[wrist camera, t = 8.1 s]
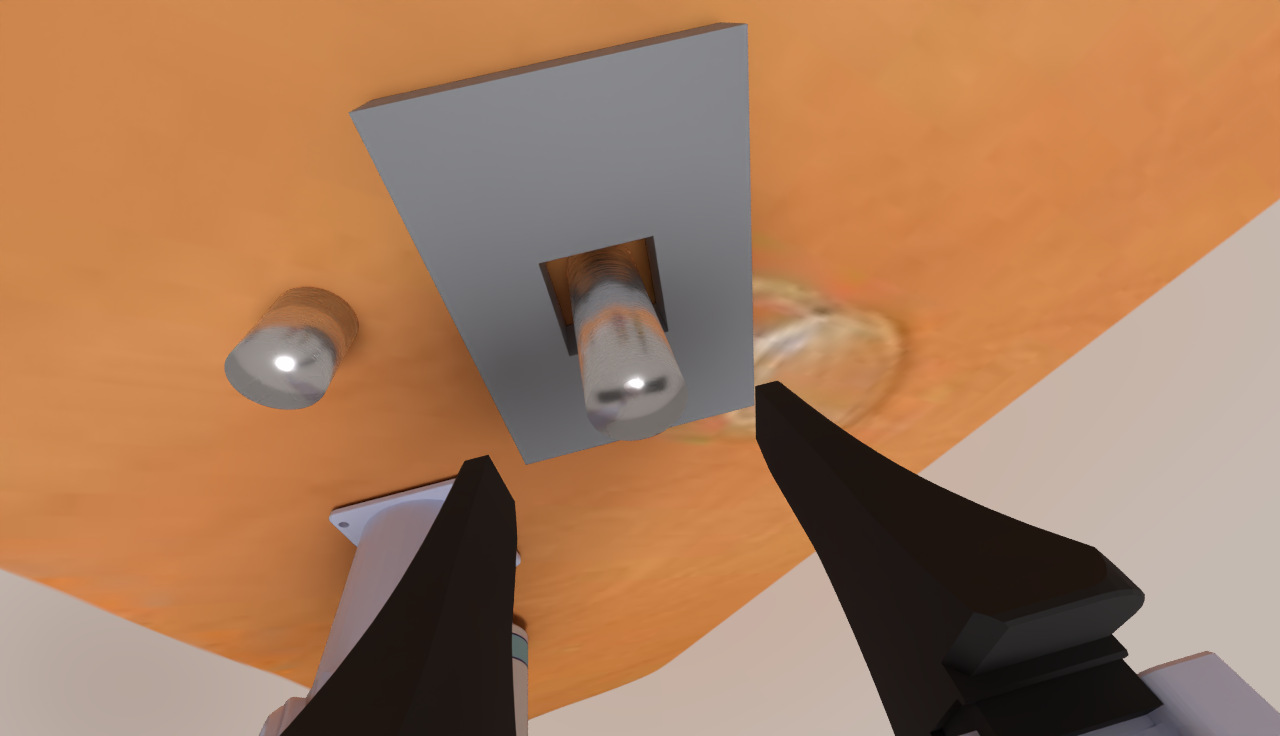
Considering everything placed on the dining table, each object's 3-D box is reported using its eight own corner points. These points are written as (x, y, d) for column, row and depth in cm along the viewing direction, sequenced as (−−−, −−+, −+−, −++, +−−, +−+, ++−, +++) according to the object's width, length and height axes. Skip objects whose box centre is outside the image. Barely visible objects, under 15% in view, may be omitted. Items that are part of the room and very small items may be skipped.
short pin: (372, 338, 20) (343, 397, 17) (304, 355, 20) (263, 417, 17) (332, 278, 19) (292, 332, 15) (257, 297, 18) (202, 355, 15)
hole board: (737, 375, 26) (754, 405, 24) (526, 430, 25) (526, 464, 23) (720, 22, 16) (747, 23, 14) (371, 100, 15) (348, 112, 13)
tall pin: (640, 289, 21) (694, 423, 14) (578, 308, 21) (602, 451, 14) (625, 228, 20) (678, 348, 13) (556, 248, 20) (572, 380, 13)
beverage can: (478, 599, 34) (459, 817, 25) (545, 621, 38) (551, 817, 29) (418, 639, 36) (379, 856, 27) (488, 656, 40) (476, 852, 31)
